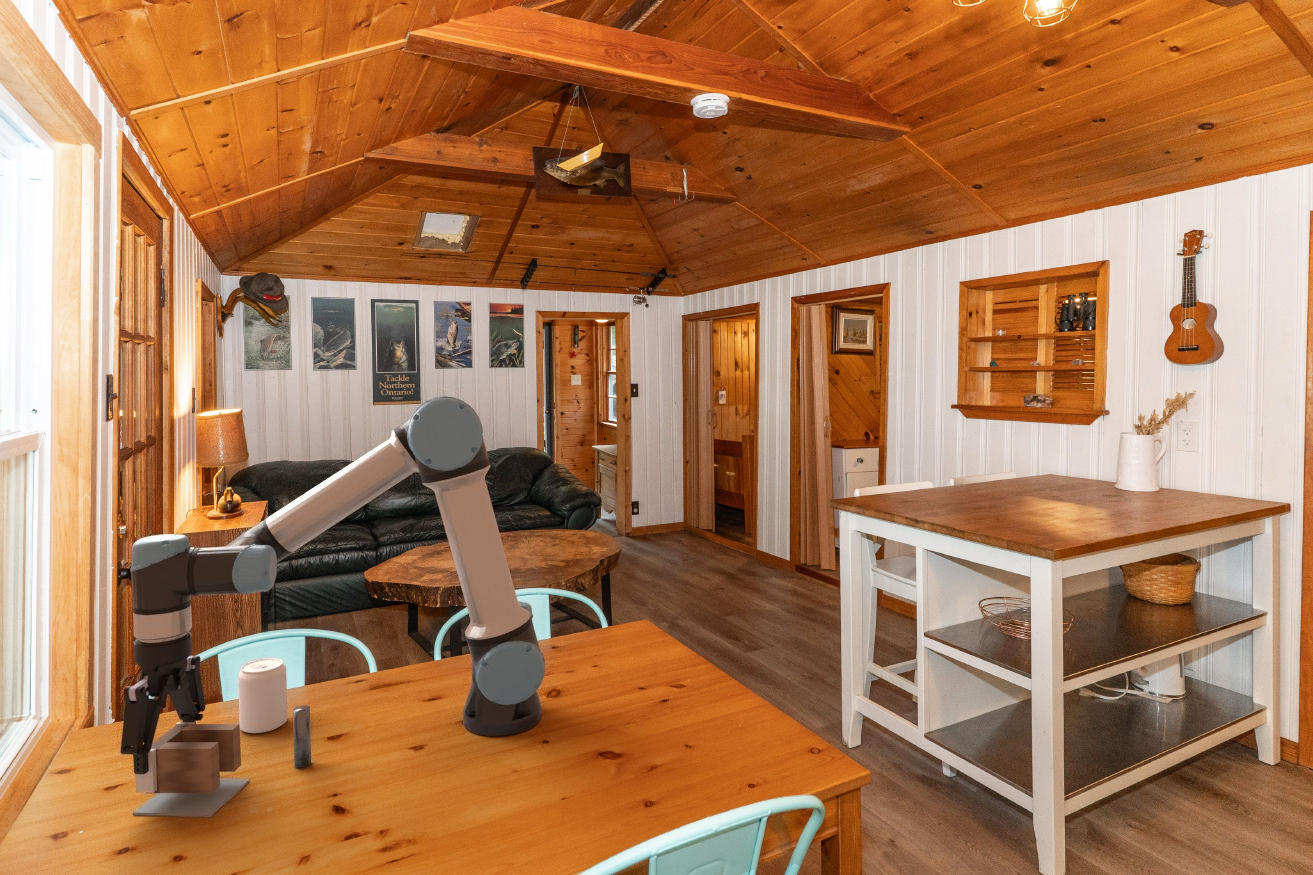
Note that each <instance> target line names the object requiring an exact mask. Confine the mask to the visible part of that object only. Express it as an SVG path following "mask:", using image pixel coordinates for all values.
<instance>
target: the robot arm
mask: <svg viewBox="0 0 1313 875" xmlns="http://www.w3.org/2000/svg"><path fill="white" fill-rule="evenodd" d="M483 428H484V427H483V424H482V421H481V418H480V417H479V415H478V413H477V411H476V410H475V409H474V408H473V407H472V406H471V405H470V404H469V403H467V402H465V401H464V400H462V399H460V398H457V397H453V396H445V395H444V396H439V397H437V396H435V397H433V398H431V399H429V400H426V401H424V402H422V403H421V404H420V405H419V406H417V407H416V408H415V410H414V411H413V412H412V414H411V416H409V417H408V419H406V420H405V421H403V422H402V423H401V424H400V425H398V426H397V427H395V428H394V429H392V430H391V434H390V437H389V438H388V439H387V440H385V441H384V442H382V443H381V444H379V445H378V446H376V447H375V448H373V449H371V450H370V451H368V452H367V453H365V454H363V455H362V456H361V457H359V458H358V459H356V460H355V461H352V462H351V463H349V464H348V465H347V466H345V467H343V468H342V469H340V470H339V471H337V472H336V473H334V474H333V475H331V476H330V477H328V478H327V479H325V480H323V481H322V482H321V483H319V484H317V485H316V486H314V487H313V488H310V490H308V491H306V492H304V494H302V495H300V496H299V497H297V498H295V499H294V500H293V501H291V502H289V503H288V504H286V505H285V506H283V507H282V508H280V509H278V510H277V511H276V512H274V513H272V514H271V515H270V516H268V517H267V518H265V519H264V520H262V521H260V522H259V523H258V524H256V525H254V526H253V527H251V528H248V529H246V530H244V531H243V532H242V533H241V534H239V535H237V536H236V538H235V539H233V540H232V541H231V542H228V544H226V545H225V546H224V545H223V546H211V547H196V546H195V547H194V546H193V547H192V545H191V543H190V539H189V537H188V536H187V535H185V534H181V533H180V534H175V533H165V534H155V535H150V536H145V537H141V538H140V539H138V540H136V541H135V542H134V543H133V544H132V546H131V560H130V561H131V563H130V570H129V571H130V574H131V575H130V576H131V577H130V579H131V595H132V614H133V618H132V619H133V636H134V638H136V639H135V641H133V661H134V664H135V665H137V666H138V667H139V668H140V674H139V675H140V676H139V679H138V682H137V683H136V684H134V685H127V686H125V687H124V689H123V697H124V701H125V704H124V714H123V721H122V723H123V724H122V732H121V733H122V734H121V742H120V750H119V752H120V755H132V757H133V759H132V760H133V772H134V775H135V793H139V794H140V793H142V794H144V793H145V794H155V793H154V792H155V791H157V772H156V749H151V747H152V743H153V742H154V738H155V735H156V731H157V726H158V722H159V718H160V714H161V711H162V708H163V707H162V706H163V705H164V704H166V702H167V701H168V700H167V699H168V696H169V698H170V701H171V703H172V704H173V705H172V706H173V708H174V710H175V712H176V713H177V716H178V719H179V720H180V721H178V722H176V723H175V726H176V725H177V724H197V721H198V722H199V721H202V719H203V718H204V714H203V712H204V711H205V710H206V702H205V701H206V700H205V695H204V689H203V683H202V676H201V671H200V668H201V657H200V656H199V655H192V654H193V634H192V632H190V630H191V629H192V627H193V621H192V620H193V618H192V617H193V616H192V600H191V598H192V597H199V596H219V595H239V594H242V595H244V594H245V595H251V594H255V593H260V592H261V593H262V592H268V591H270V590H271V589H273V586H274V585H275V580H276V578H277V572H278V571H277V570H278V563H279V562H281V561H282V560H284V559H285V558H287V557H288V556H290V555H291V554H292V553H294V552H295V551H296V550H298V549H299V548H301V547H303V546H304V545H305V544H307V543H309V542H310V541H312V540H314V539H315V538H316V537H318V536H319V535H321V534H322V533H324V532H325V531H327V530H328V529H329V528H331V527H333V526H335V525H337V523H339V522H341V521H342V520H344V519H345V518H346V517H348V516H350V515H352V514H353V513H354V512H356V511H357V510H359V509H361V508H362V507H364V506H365V505H366V504H368V503H370V502H371V501H372V500H374V499H376V498H378V497H379V496H380V495H382V494H383V493H385V492H386V491H388V490H389V489H391V488H392V487H394V486H395V485H397V484H398V483H400V482H402V481H403V480H405V479H406V478H408V477H409V476H411V475H412V474H414V473H419V476H420V479H421V482H422V485H423V486H424V487H426V488H429V489H430V490H432V491H433V492H434V495H435V498H436V502H437V505H438V509H439V512H440V517H441V520H442V524H443V526H444V531H445V533H446V537H447V540H448V544H449V548H450V552H451V555H452V559H453V563H454V567H455V569H456V574H457V576H458V580H459V584H460V588H461V591H462V593H463V594H462V595H463V598H464V602H465V605H466V609H467V613H468V615H469V619H470V621H469V624H468V626H467V627H466V629H465V631H464V634H465V638H466V642H467V646H468V650H469V654H470V657H471V685H470V688H469V692H468V694H467V698H466V700H465V704H464V707H463V712H462V724H463V726H464V728H465V730H467V731H469V732H470V733H473V734H475V735H480V736H487V737H504V736H510V735H511V736H512V735H516V734H520V733H522V732H526V731H528V730H530V729H532V728H533V727H534V726H536V725H537V724H538V723H539V722H540V721H541V719H542V702H541V699H540V696H539V693H538V690H539V688H540V687H541V685H542V683H543V681H544V678H545V674H546V660H545V656H544V654H543V652H542V651H541V647H540V644H539V641H538V637H537V633H536V630H535V627H534V622H533V618H534V614H533V609H532V605H531V604H530V603H528V602H526V601H525V602H524V601H519V600H518V597H517V593H516V589H515V586H514V581H513V579H512V574H511V571H510V567H509V564H508V560H507V557H506V552H505V549H504V545H503V540H502V537H501V533H500V530H499V526H498V523H497V520H496V516H495V512H494V509H493V504H492V500H491V497H490V494H489V490H488V484H487V482H486V475H487V473H488V471H489V470H490V468H491V463H490V459H489V454H488V451H487V447H486V443H485V440H484V435H483V434H484V429H483ZM150 697H151V698H150Z"/></svg>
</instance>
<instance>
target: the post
mask: <svg viewBox="0 0 1313 875" xmlns="http://www.w3.org/2000/svg"><path fill="white" fill-rule="evenodd" d="M292 715H293V716H292V719H293V720H292V721H293V725H292V726H293V756H294V757H293V758H294V759H293V760H294V762H293V764H294V769H297V770H303V769H306V768H307V769H308V768H309V767H310V766H311V765H312V743H311V742H312V738H311V736H312V735H311V705H306V704H305V705H304V704H303V705H299V706H295V707H294V708H293V709H292Z"/></svg>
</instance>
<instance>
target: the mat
mask: <svg viewBox="0 0 1313 875" xmlns="http://www.w3.org/2000/svg"><path fill="white" fill-rule="evenodd" d="M250 781H251V779H250V778H221V777H220V786H219V787H218V788H217V789H216V790H215V791H214V792H213V793H155V795H154V796H152V797H151V798H149V799H148V800H147V801H145V803H143V804H142V805H141V806H139V807H138V808H137V809H135V810H134V811H133V812H132V816H147V817H148V816H150V817H152V816H153V817H155V816H156V817H158V816H159V817H161V816H162V817H192V818H193V817H196V818H197V817H198V818H211V817H212V816H213V815H215V813H217V812H218V811H219V810H220V809H221V808H222V807H223V806H225V804H227V803H228V802H229V801H230V800H231V799H232V798H233V797H234V796H236V795H237V794H238V793H239V792H240V791H241V790H243V788H244V787H246V786H247V785H248V784H249V783H250Z"/></svg>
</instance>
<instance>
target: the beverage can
mask: <svg viewBox="0 0 1313 875" xmlns="http://www.w3.org/2000/svg"><path fill="white" fill-rule="evenodd" d="M287 678H288V677H287V666H286V665H285V664H284V660H283V659H281V658H275V657H269V658H268V657H266V658H260V659H259V658H258V659H255V660H251V661H248V662H246V663H244V664H243V665H241V667H240V671H239V672H238V675H237V683H238V684H237V686H238V687H237V688H238V715H239V716H238V718H239V721H238V722H239V723H238V724H240V731H242V732H245V733H249V734H262V733H268V732H271V731H274V730H276V729H277V728H280V727H281V726H283V725H284V724H285V723H287V720H288V717H289V716H288V715H289V714H288V688H287V687H288V684H287V683H288V680H287Z"/></svg>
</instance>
